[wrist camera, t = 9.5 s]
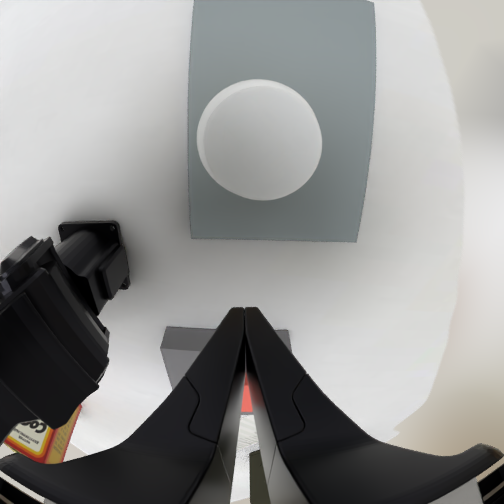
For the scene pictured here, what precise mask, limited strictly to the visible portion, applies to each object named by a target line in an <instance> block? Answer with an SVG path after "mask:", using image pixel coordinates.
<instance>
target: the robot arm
mask: <svg viewBox="0 0 504 504" xmlns="http://www.w3.org/2000/svg"><path fill="white" fill-rule="evenodd" d="M111 226H114V228H115V229H113V228H112V227H111ZM63 228H64V229H63ZM58 230H59V234H60V238H61V243H60V244H58V245H57V246H56V247H55V248H54V246H53V241H52V239H51V237H48V238H46V239H44V240H43V239H41V240H37V239H35V238H33V237H32V236H31V237H29V238H27V239H26V240H25V241H24V242H22V243H21V244H20V245H19V246H17V247H16V248H15V249H14V250H13V251H12V252H11V253H10V254H9V255H8V256H7V257H6V258H5V259H4V260H3V261H2V262H1V265H0V446H1V445H2V444H3V442H4V441H5V440H6V438H7V437H8V436H9V435H10V433H11V432H12V431H13V430H14V428H15V427H16V426H17V425H18V424H21V423H26V422H32V421H37V420H41V421H42V422H44V423H45V424H46V425H47V426H48V427H50V428H51V429H53V430H55V429H58V428H60V427H62V426H64V425H65V424H67V422H68V421H69V419H70V418H71V416H72V415H73V413H74V412H75V410H76V409H77V407H78V406H79V405H80V404H81V403H82V402H83V401H84V400H85V399H86V398H87V397H88V396H89V395H90V394H92V393H93V392H95V391H96V390H97V389H98V388H99V385H98V383H99V382H100V380H101V379H102V377H103V376H104V373H105V371H106V368H107V366H108V364H109V358H108V357H107V354H108V348H109V344H108V342H109V333H110V332H109V331H108V329H107V328H106V327H104V326H103V325H102V323H101V322H100V320H99V319H98V318H97V316H98V315H99V314H100V312H101V310H102V309H103V307H104V305H105V304H106V302H107V301H108V300H112V299H113V297H114V296H115V294H116V292H117V291H118V289H122V290H126V289H128V288H129V286H130V281H129V276H128V273H129V268H128V263H127V258H126V253H125V248H124V246H123V245H122V240H121V234H120V228H119V224H118V223H117V222H116V221H89V222H63V223H61V224H60V225H59V227H58ZM123 283H125V284H126V285H124V284H123ZM244 312H245V316H244ZM245 354H246V358H245ZM245 373H247V380H248V386H249V392H250V398H251V403H252V409H253V414H254V420H255V425H256V431H257V436H258V442H259V447H260V452H261V457H262V462H263V467H264V472H265V477H266V482H267V486H268V492H269V497H270V502H271V504H504V464H502V465H501V466H500V467H498V468H497V469H495V470H494V471H493V472H491V473H490V474H488V475H487V476H486V477H485V478H483V479H481V480H480V481H479V482H477V479H476V476H478V475H479V474H481V473H482V472H483V471H485V470H487V469H488V468H489V467H491V466H492V465H493V464H495V463H496V462H497V461H499V460H500V459H501V458H502V457H503V456H504V454H503V453H502V452H501V451H500V450H498V449H497V448H495V447H492V446H489V445H485V444H482V443H480V444H477V445H475V446H474V447H471V448H470V449H468V450H466V451H464V452H463V453H460V454H458V455H453V456H436V455H432V454H427V453H422V452H418V451H413V450H409V449H405V448H401V447H397V446H393V445H390V444H387V443H384V442H381V441H379V440H376V439H375V438H373V437H371V436H370V435H368V434H367V433H366V432H365V431H363V430H362V429H361V428H360V427H359V426H358V425H357V424H356V423H355V422H353V421H352V420H351V419H350V418H349V417H348V416H347V415H346V414H345V413H344V412H343V411H342V410H340V409H339V408H338V407H337V406H336V405H335V404H334V403H333V402H332V401H331V400H330V399H329V398H328V397H327V396H326V395H325V394H324V393H323V392H322V390H321V389H320V388H319V387H318V386H317V384H316V383H315V382H314V381H313V380H312V378H311V377H310V376H309V374H306V373H307V372H306V371H305V369H304V368H303V367H302V366H301V364H300V363H299V362H298V360H297V359H296V358H295V356H294V355H293V354H292V353H291V351H290V350H289V349H288V347H287V346H286V345H285V343H284V342H283V341H282V339H281V338H280V337H279V335H278V334H277V333H276V331H275V330H274V329H273V327H272V326H271V325H270V323H269V322H268V321H267V319H266V318H265V317H264V315H263V314H262V313H261V311H260V310H259V309H258V308H257V307H246V308H245V309H244V308H243V307H233V308H231V309H230V310H229V312H228V313H227V315H226V316H225V317H224V319H223V320H222V322H221V323H220V325H219V326H218V328H217V329H216V330H215V332H214V333H213V335H212V336H211V338H210V339H209V340H208V342H207V343H206V345H205V346H204V348H203V349H202V350H201V352H200V353H199V355H198V356H197V358H196V359H195V360H194V362H193V363H192V365H191V366H190V367H189V369H188V370H187V372H186V373H185V376H183V377H182V379H181V380H180V381H179V383H178V384H177V386H176V387H175V388H174V389H173V391H172V392H171V393H170V395H169V396H168V397H167V398H166V399H165V400H164V402H163V403H162V404H161V405H160V406H159V407H158V408H157V409H156V410H155V411H154V412H153V413H152V414H151V415H150V416H149V417H148V418H147V420H146V421H145V422H144V423H143V424H142V425H141V426H140V427H139V428H138V429H137V430H136V431H135V432H134V433H133V434H132V435H131V436H130V437H129V438H127V439H126V440H125V441H123V442H122V443H120V444H119V445H117V446H115V447H113V448H110V449H107V450H104V451H101V452H98V453H94V454H91V455H88V456H84V457H81V458H77V459H73V460H70V461H66V462H62V463H55V464H45V463H39V462H36V461H34V460H32V459H30V458H28V457H27V456H25V455H23V454H20V453H14V454H11V455H8V456H5V457H3V458H2V459H0V470H1V471H2V472H3V473H5V474H6V475H8V476H9V477H11V478H12V479H14V480H15V481H17V482H19V483H20V484H22V485H23V486H25V487H26V488H28V489H30V490H32V491H33V492H35V493H37V494H39V495H40V496H42V497H44V498H45V500H44V504H230V497H231V490H232V482H233V474H234V466H235V458H236V450H237V441H238V433H239V425H240V417H241V408H242V400H243V391H244V383H245ZM0 504H43V503H42V502H40V501H38V500H36V499H34V498H33V497H31V496H29V495H28V494H26V493H24V492H23V491H21V490H20V489H18V488H17V487H15V486H13V485H12V484H10V483H9V482H7V481H6V480H4V479H3V478H1V477H0Z"/></svg>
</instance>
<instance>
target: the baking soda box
mask: <svg viewBox="0 0 504 504" xmlns="http://www.w3.org/2000/svg"><path fill="white" fill-rule="evenodd" d="M81 408H82V406H81V404H80V405H79V406H78V407H77V409H76V410H75V412H74V413H73V415H72V416H71V418H70V419H69V421H68V422H67V424H65V425H64V426H62V427H60V428H58V429H55V430H53V429H51V428H50V427H48V426H47V425H46V424H45V423H44V422H42V421H41V420H37V421H32V422H26V423H21V424H18V425H17V426H16V427H15V428H14V430H13V431H12V432H11V433H10V435H9V436H8V437H7V438H6V440H5V441H4V442H3V443H4V444H5V445H6V446H8V447H9V448H10V449H11V450H12V451H13V452H15V453H20V454H23V455H25V456H27V457H28V458H30V459H32V460H34V461H36V462H39V463H45V464H55V463H62V462H63V460H64V457H65V453H66V450H67V447H68V444H69V441H70V438H71V435H72V433H73V430H74V427H75V424H76V421H77V419H78V416H79V413H80V411H81Z"/></svg>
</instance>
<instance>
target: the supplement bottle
mask: <svg viewBox="0 0 504 504" xmlns="http://www.w3.org/2000/svg"><path fill="white" fill-rule="evenodd" d="M197 148H198V152H199V156H200V159H201V161H202V164H203V166H204V167H205V169H206V170H207V172H208V173H209V175H210V176H211V177H212V178H213V179H214V180H215V181H216V182H217V183H218V184H219V185H221V186H222V187H223V188H225V189H227V190H228V191H230V192H232V193H234V194H237V195H239V196H241V197H244V198H248V199H252V200H274V199H278V198H282V197H285V196H287V195H289V194H291V193H293V192H295V191H296V190H298V189H299V188H300V187H302V186H303V185H304V184H305V183H306V182H307V181H308V180H309V179H310V177H311V176H312V175H313V173H314V171H315V169H316V168H317V165H318V163H319V160H320V157H321V152H322V135H321V130H320V127H319V124H318V121H317V118H316V116H315V114H314V112H313V110H312V108H311V107H310V105H309V104H308V103H307V101H306V100H305V99H304V98H303V97H302V96H301V95H300V94H298V93H297V92H296V91H294V90H293V89H291V88H290V87H288V86H286V85H284V84H281V83H278V82H275V81H271V80H264V79H252V80H245V81H241V82H238V83H235V84H233V85H230V86H229V87H227V88H225V89H223V90H222V91H221V92H219V93H218V94H217V95H216V96H215V97H214V98H213V99H212V100H211V101H210V102H209V103H208V105H207V106H206V108H205V109H204V111H203V113H202V116H201V118H200V121H199V124H198V129H197Z"/></svg>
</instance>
